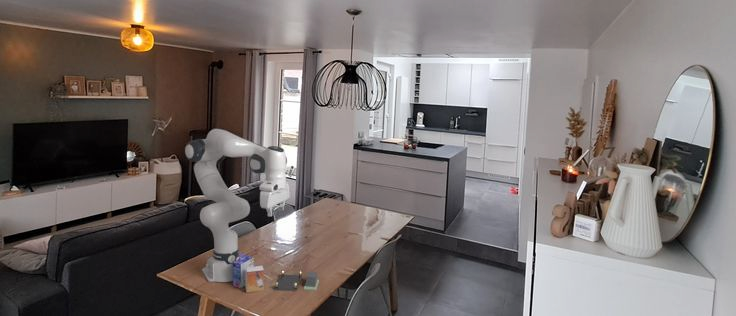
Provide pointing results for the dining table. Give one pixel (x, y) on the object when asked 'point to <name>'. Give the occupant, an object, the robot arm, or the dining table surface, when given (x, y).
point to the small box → (254, 279)
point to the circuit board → (311, 281)
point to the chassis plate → (288, 282)
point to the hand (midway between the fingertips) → (275, 213)
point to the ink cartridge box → (241, 270)
